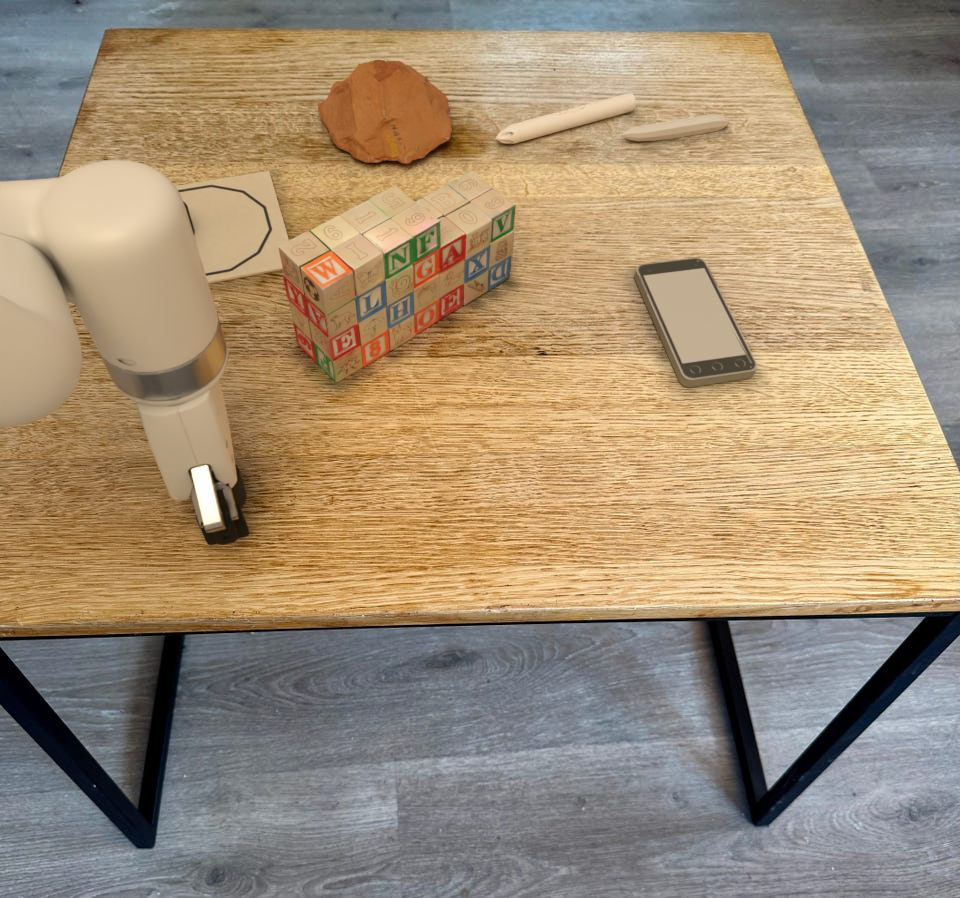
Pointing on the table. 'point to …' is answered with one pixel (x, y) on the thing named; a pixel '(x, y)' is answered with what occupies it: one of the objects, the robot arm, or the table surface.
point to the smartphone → (694, 322)
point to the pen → (677, 128)
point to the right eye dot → (234, 490)
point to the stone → (386, 113)
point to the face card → (236, 225)
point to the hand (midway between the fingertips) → (219, 487)
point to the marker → (567, 119)
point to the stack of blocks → (394, 269)
